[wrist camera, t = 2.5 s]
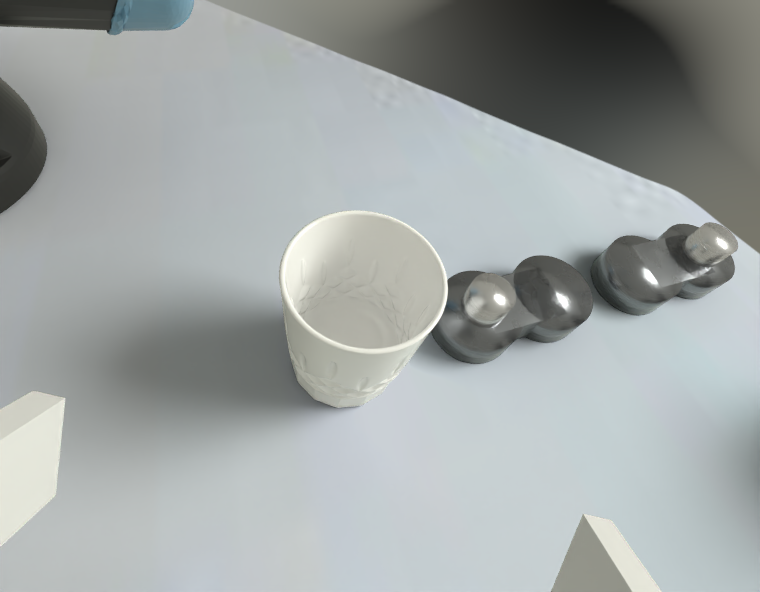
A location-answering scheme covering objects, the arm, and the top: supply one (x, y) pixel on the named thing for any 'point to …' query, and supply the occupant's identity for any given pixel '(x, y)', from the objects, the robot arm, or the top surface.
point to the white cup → (357, 303)
